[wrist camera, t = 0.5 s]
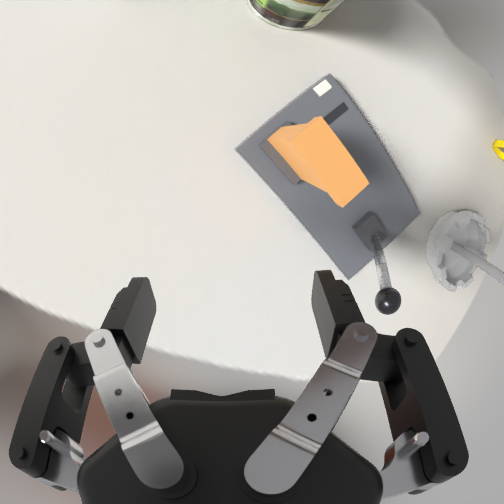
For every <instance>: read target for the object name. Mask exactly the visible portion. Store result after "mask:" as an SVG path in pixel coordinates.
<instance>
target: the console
mask: <svg viewBox="0 0 504 504" xmlns="http://www.w3.org/2000/svg"><path fill="white" fill-rule="evenodd" d="M318 116H322V118H323V119H324V120H325V121H326V123H327V124H328V125H329V127H330V128H331V129H332V131H333V132H334V133H335V134H336V136H337V137H338V138H339V140H340V141H341V143H342V144H343V145H344V147H345V148H346V149H347V151H348V152H349V154H350V155H351V156H352V158H353V159H354V161H355V162H356V164H357V165H358V167H359V168H360V170H361V171H362V172H363V174H364V175H365V177H366V179H367V180H368V182H369V184H368V185H367V186H366V187H365V188H364V189H363V190H362V191H361V192H360V193H358V194H357V195H356V196H355V197H354V198H353V199H352V200H351V201H350V202H348V203H347V204H346V205H345V206H344V207H343V208H342V207H340V206H339V205H337V204H336V203H335V202H334V201H333V199H332V198H331V197H330V195H329V194H328V193H327V192H325V191H323V190H321V189H319V188H317V187H316V186H314V185H312V184H310V183H308V182H306V181H304V180H302V179H301V180H300V181H299V182H298V183H296V184H295V185H293V184H292V183H291V182H290V181H289V180H288V179H287V177H286V176H285V175H284V174H283V173H282V172H281V170H280V169H279V168H278V167H277V166H276V165H275V164H274V162H273V161H272V160H271V159H270V158H269V157H268V156H267V155H266V153H265V152H264V151H263V150H262V149H261V148H260V147H259V146H258V145H259V144H260V143H262V142H263V141H264V140H265V139H266V138H267V137H269V136H270V135H271V134H272V133H273V132H275V131H276V130H277V129H278V128H279V127H281V126H282V125H283V124H284V123H285V122H287V121H289V122H290V123H291V125H298V124H305V123H308V122H310V121H311V120H312V119H313V118H315V117H318ZM235 150H236V151H237V152H238V154H239V155H240V156H241V157H242V158H243V159H244V160H245V161H246V162H247V163H248V164H249V165H250V166H251V167H252V169H253V170H254V171H255V172H256V173H257V174H258V175H259V176H260V177H261V178H262V180H263V181H264V182H265V183H266V184H267V185H268V186H269V187H270V188H271V189H272V191H273V192H274V193H275V194H276V195H277V196H278V197H279V198H280V200H281V201H282V202H283V203H284V204H285V205H286V206H287V208H288V209H289V210H290V211H291V212H292V213H293V215H294V216H295V217H296V218H297V219H298V220H299V221H300V223H301V224H302V225H303V226H304V227H305V229H306V230H307V231H308V232H309V233H310V234H311V236H312V237H313V238H314V239H315V240H316V242H317V243H318V244H319V245H320V246H321V248H322V249H323V250H324V251H325V253H326V254H327V255H328V256H329V257H330V259H331V260H332V261H333V262H334V264H335V265H336V266H337V267H338V269H339V270H340V271H341V272H342V274H343V275H344V276H345V277H346V278H347V279H348V280H349V279H350V278H352V277H353V276H354V275H355V274H356V273H357V272H358V271H360V270H361V269H362V268H363V267H364V266H365V265H366V264H367V263H368V262H370V261H371V260H372V259H373V258H374V254H373V249H372V244H371V240H370V238H371V235H372V234H378V235H379V237H380V240H381V244H382V248H383V249H384V248H385V247H386V246H387V245H388V244H389V243H390V242H391V241H392V240H393V239H394V238H395V237H396V236H397V235H398V234H399V233H400V232H401V231H402V230H404V229H405V228H406V227H407V226H408V225H409V224H410V223H411V222H412V221H413V220H414V219H415V218H416V217H417V216H418V215H419V211H418V209H417V207H416V205H415V203H414V201H413V199H412V197H411V195H410V193H409V191H408V189H407V187H406V185H405V183H404V182H403V180H402V178H401V176H400V174H399V173H398V171H397V169H396V167H395V166H394V164H393V162H392V161H391V159H390V157H389V156H388V154H387V152H386V151H385V149H384V147H383V146H382V144H381V143H380V141H379V140H378V138H377V136H376V135H375V133H374V132H373V130H372V129H371V127H370V126H369V124H368V123H367V121H366V120H365V119H364V117H363V116H362V114H361V113H360V112H359V110H358V109H357V107H356V106H355V105H354V103H353V102H352V101H351V99H350V98H349V97H348V95H347V94H346V93H345V91H344V90H343V89H342V88H341V86H340V85H339V84H338V82H337V81H336V80H335V79H334V78H333V76H332V75H331V74H328V75H326V76H324V77H322V78H321V79H320V80H318V81H317V82H316V83H314V84H313V85H312V86H310V87H309V88H308V89H306V90H305V91H304V92H302V93H301V94H300V95H299V96H297V97H296V98H295V99H293V100H292V101H291V102H290V103H288V104H287V105H286V106H285V107H283V108H282V109H281V110H280V111H278V112H277V113H276V114H275V115H273V116H272V117H271V118H270V119H269V120H267V121H266V122H265V123H264V124H263V125H261V126H260V127H259V128H258V129H257V130H255V131H254V132H253V133H252V134H251V135H250V136H249V137H247V138H246V139H245V140H244V141H243V142H242V143H240V144H239V145H238V146H237V147H236V148H235Z"/></svg>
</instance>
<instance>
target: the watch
mask: <svg viewBox="0 0 504 504" xmlns="http://www.w3.org/2000/svg"><path fill="white" fill-rule="evenodd" d="M498 147H501V148H504V141H503V140H496V141H495V142H494V146H493V150H494V151H495V152H496V154H497V155H498V157H499V158H501V159H502V160H504V153H503V152H502V151H501V150H500V149H499V148H498Z"/></svg>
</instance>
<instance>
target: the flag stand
mask: <svg viewBox="0 0 504 504" xmlns="http://www.w3.org/2000/svg"><path fill="white" fill-rule="evenodd" d="M484 222H485V219H484V218H483V217H482V216H480V215H478V214H476V213H474V212H471V211H469V210H463V211H460V212H456V211H450V212H447V213H445V214H443V215H442V216H441V217H440V218H439V219H438V220H437V221H436V222H435V224H434V226H433V227H432V229H431V231H430V233H429V236H428V239H427V243H426V250H425V255H426V261H427V264H428V266H429V267H430V268H431V269H432V271H433V275H434V277H435V279H436V280H437V281H438V282H439V283H440V284H441V285H442V286H444V287H445V288H446V289H447V290H449V291H453V292H455V291H456V289H457V286H460V285H461V286H462V287H464V288H465V287H467V286H468V285H469V284H470V283H471V282H472V281H473V276H472V274H473V272H474V271H475V269H476V268H477V267H479V268H480V269H482V270H483V271H485V272H486V273H488V274H489V275H490V276H492V277H493V278H495V279H496V280H498V281H499V282H500V283H502V284H503V285H504V272H503V271H501V270H500V269H498V268H497V267H495V266H494V265H492V264H491V263H489V262H488V261H486V258H487V255H485V254H484V253H483V251H484V247H485V243H486V244H487V243H489V242H490V229H488V228H486V227H485V226H484Z"/></svg>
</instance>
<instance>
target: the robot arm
mask: <svg viewBox="0 0 504 504" xmlns="http://www.w3.org/2000/svg"><path fill="white" fill-rule="evenodd" d="M312 308H313V312H314V316H315V319H316V323H317V327H318V330H319V334H320V338H321V342H322V345H323V349H324V353H325V357H326V359H325V360H324V361H323V362H322V364H321V365H320V367H319V368H318V370H317V372H316V373H315V375H314V376H313V378H312V379H311V381H310V382H309V384H308V385H307V387H306V388H305V390H304V391H303V392H302V394H301V395H300V397H299V398H298V399H297V401H296V402H294V401H292V400H289V399H287V398H283V397H279V396H275V390H274V389H267V390H248V391H244V392H240V393H236V394H232V395H227V396H216V395H212V394H208V393H204V392H200V391H196V390H174V389H172V390H171V396H170V397H165V398H162V399H159V400H157V401H155V402H153V403H151V404H150V402H149V401H148V399H147V398H146V396H145V394H144V392H143V391H142V389H141V387H140V385H139V383H138V382H137V380H136V378H135V376H134V374H133V372H132V371H131V365H132V363H135V364H140V363H141V360H142V356H143V353H144V350H145V346H146V343H147V339H148V336H149V333H150V330H151V326H152V323H153V320H154V317H155V314H156V301H155V298H154V295H153V291H152V288H151V285H150V281H149V279H148V278H147V277H133V278H132V279H131V281H130V283H129V285H128V287H127V288H123V289H122V290H121V291H120V292H119V293H118V294H117V295H116V297H115V299H114V301H113V303H112V305H111V307H110V309H109V311H108V313H107V315H106V318H105V320H104V322H103V324H102V326H101V328H100V329H98V330H95V331H93V332H91V333H90V334H89V335H88V336H87V338H86V340H85V341H84V342H80V343H74V344H71V343H70V341H69V340H68V339H67V338H66V337H57V338H54V339H53V340H52V341H50V343H49V344H48V345H47V347H46V350H45V351H44V354H43V356H42V358H41V360H40V363H39V365H38V367H37V370H36V372H35V374H34V377H33V379H32V382H31V384H30V387H29V389H28V392H27V395H26V397H25V400H24V403H23V406H22V409H21V412H20V415H19V418H18V421H17V424H16V427H15V430H14V434H13V437H12V441H11V444H10V448H9V457H10V460H11V462H12V464H13V465H14V466H15V467H16V468H18V469H20V470H22V471H23V472H25V473H27V474H28V475H29V476H31V477H32V478H34V479H36V480H38V481H40V482H42V483H44V484H46V485H48V486H51V487H54V488H56V489H58V490H61V491H64V490H67V489H69V490H72V491H75V492H78V493H79V494H80V497H81V500H82V504H379V503H380V501H381V500H385V499H388V498H391V497H395V496H399V495H402V494H405V493H409V494H419V493H422V492H424V491H426V490H428V489H431V488H432V487H435V486H437V485H439V484H441V483H443V482H445V481H447V480H449V479H451V478H452V477H454V476H456V475H458V474H459V473H461V472H462V471H463V470H464V469H465V467H466V465H467V463H468V457H469V454H468V450H467V446H466V443H465V440H464V436H463V433H462V430H461V427H460V424H459V421H458V418H457V416H456V413H455V410H454V407H453V404H452V402H451V399H450V397H449V394H448V392H447V389H446V386H445V384H444V381H443V379H442V377H441V374H440V372H439V370H438V367H437V365H436V363H435V360H434V358H433V356H432V354H431V351H430V349H429V347H428V345H427V343H426V341H425V339H424V337H423V335H422V334H421V333H420V332H418V331H417V330H415V329H411V328H404V329H401V330H400V331H398V333H397V334H396V336H390V335H383V334H378V333H377V332H376V330H375V329H374V328H373V327H372V326H371V325H369V324H367V323H365V321H364V319H363V316H362V314H361V312H360V310H359V307H358V305H357V303H356V301H355V299H354V296H353V295H352V292H351V290H350V288H349V286H348V285H347V284H346V283H345V282H344V281H342V280H335V278H334V276H333V273H332V271H331V270H322V271H315V273H314V280H313V289H312ZM65 379H66V380H67V381H66V384H65V386H64V389H63V393H62V392H61V391H62V387H63V384H64V382H65ZM360 379H362V380H370V381H378V382H379V386H380V389H381V393H382V396H383V400H384V404H385V408H386V411H387V415H388V420H389V424H390V429H391V433H392V437H393V441H394V442H393V443H392V444H391V445H390V446H389V447H388V448H387V449H386V452H385V455H384V466H383V468H382V470H381V471H380V472H379V471H378V470H377V468H376V467H375V466H374V465H373V464H372V463H370V462H369V461H368V460H366V459H365V458H364V457H362V456H361V455H360V454H359V453H357V452H356V451H355V450H354V449H352V448H351V447H350V446H349V445H347V444H346V443H345V442H344V441H342V440H341V439H340V438H339V437H337V436H336V435H335V434H334V433H333V432H332V430H333V429H334V427H335V425H336V423H337V422H338V420H339V418H340V416H341V414H342V413H343V411H344V409H345V407H346V405H347V403H348V401H349V399H350V397H351V396H352V394H353V392H354V390H355V388H356V386H357V384H358V382H359V380H360ZM94 385H96V388H97V390H98V393H99V395H100V398H101V400H102V402H103V405H104V407H105V410H106V412H107V414H108V416H109V419H110V421H111V423H112V425H113V427H114V429H115V431H116V434H115V435H114V436H113V437H112V438H111V439H109V440H108V441H107V442H106V443H105V444H103V445H102V446H101V447H100V448H99V449H98V450H96V451H95V452H94V453H93V454H92V455H90V456H89V457H88V458H87V459H86V460H85V459H84V453H83V449H82V447H81V446H80V445H79V443H80V439H81V434H82V429H83V425H84V421H85V416H86V412H87V408H88V404H89V400H90V397H91V393H92V389H93V386H94Z"/></svg>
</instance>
